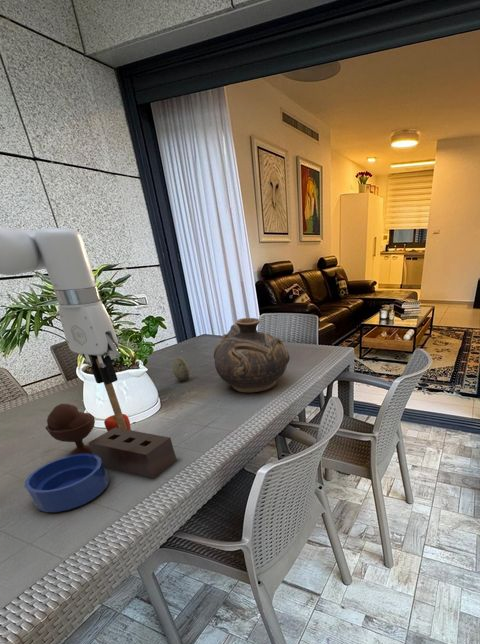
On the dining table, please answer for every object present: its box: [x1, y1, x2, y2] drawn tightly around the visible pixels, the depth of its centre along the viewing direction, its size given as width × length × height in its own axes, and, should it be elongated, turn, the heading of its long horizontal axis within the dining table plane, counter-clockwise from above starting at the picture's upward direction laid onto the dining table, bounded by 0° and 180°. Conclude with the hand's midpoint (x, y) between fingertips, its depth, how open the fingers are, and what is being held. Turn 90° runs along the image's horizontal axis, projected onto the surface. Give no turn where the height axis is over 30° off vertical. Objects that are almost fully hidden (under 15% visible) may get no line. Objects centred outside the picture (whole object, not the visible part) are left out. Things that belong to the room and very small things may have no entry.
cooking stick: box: [96, 359, 127, 431], centre depth 82 cm, size 2×2×18 cm
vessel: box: [213, 317, 291, 393], centre depth 131 cm, size 27×28×25 cm
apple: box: [103, 413, 132, 432], centre depth 101 cm, size 6×6×8 cm
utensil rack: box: [88, 427, 177, 479], centre depth 90 cm, size 19×8×7 cm, turn 70°
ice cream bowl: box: [45, 403, 96, 455], centre depth 94 cm, size 11×11×15 cm
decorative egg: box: [172, 356, 191, 382], centre depth 141 cm, size 6×6×10 cm
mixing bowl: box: [24, 453, 110, 513], centre depth 80 cm, size 15×15×6 cm
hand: (107, 381), depth 80 cm, fingers closed on cooking stick, 1 cm apart
